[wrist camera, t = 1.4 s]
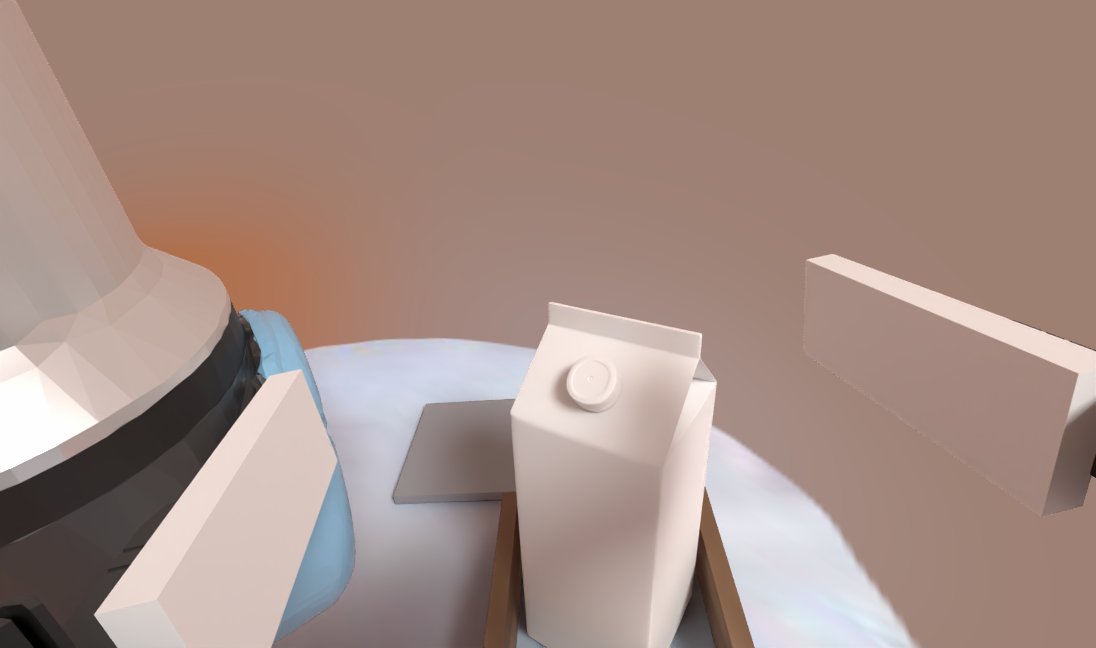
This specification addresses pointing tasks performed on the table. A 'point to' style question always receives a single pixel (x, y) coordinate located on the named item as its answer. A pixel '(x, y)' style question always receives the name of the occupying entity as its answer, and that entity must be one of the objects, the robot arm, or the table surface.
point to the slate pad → (460, 454)
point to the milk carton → (610, 479)
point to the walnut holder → (710, 565)
